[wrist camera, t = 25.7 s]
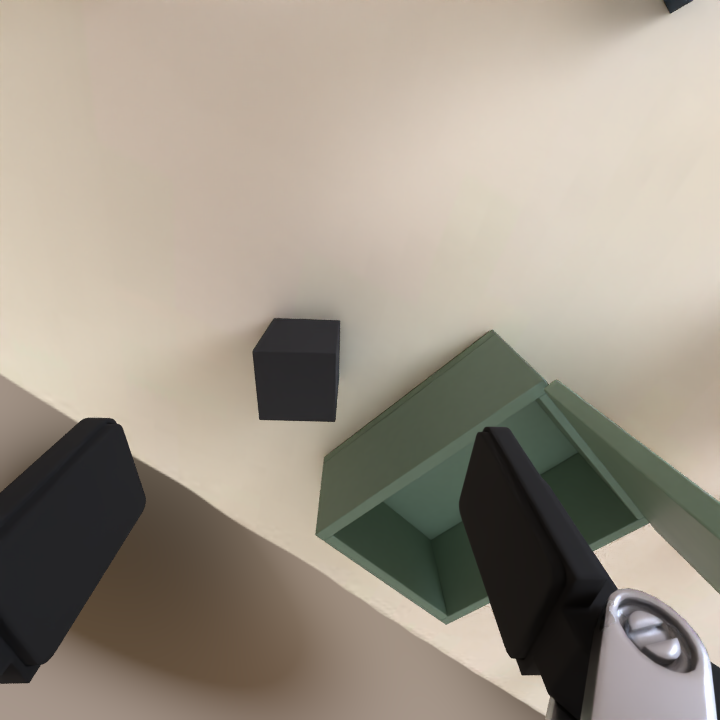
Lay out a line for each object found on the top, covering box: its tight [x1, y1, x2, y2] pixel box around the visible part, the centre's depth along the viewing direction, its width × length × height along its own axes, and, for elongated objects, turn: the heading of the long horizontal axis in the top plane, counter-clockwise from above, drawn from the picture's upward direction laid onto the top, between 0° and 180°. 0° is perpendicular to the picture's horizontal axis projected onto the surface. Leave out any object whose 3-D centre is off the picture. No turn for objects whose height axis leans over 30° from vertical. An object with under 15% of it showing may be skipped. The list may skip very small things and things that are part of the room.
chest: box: [315, 330, 649, 624], centre depth 25 cm, size 17×14×7 cm
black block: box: [253, 318, 340, 422], centre depth 22 cm, size 4×4×6 cm
